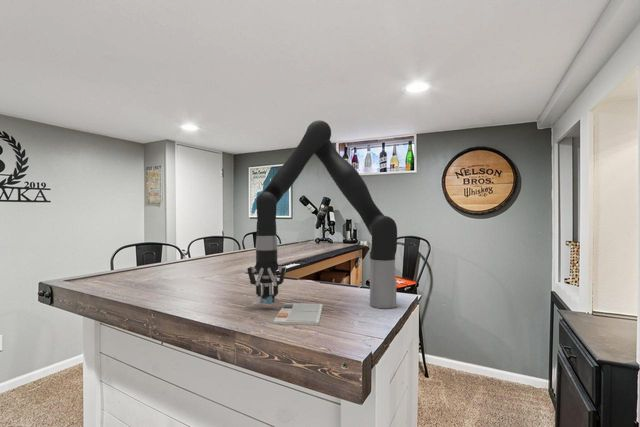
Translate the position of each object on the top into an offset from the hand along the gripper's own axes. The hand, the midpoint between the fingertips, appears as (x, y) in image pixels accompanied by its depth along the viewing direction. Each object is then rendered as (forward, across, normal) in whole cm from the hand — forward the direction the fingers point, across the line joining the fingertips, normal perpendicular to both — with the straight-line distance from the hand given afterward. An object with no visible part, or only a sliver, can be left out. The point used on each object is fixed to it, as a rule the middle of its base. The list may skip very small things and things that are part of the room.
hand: (267, 295), depth 110 cm
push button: (+3, -1, 0) cm, 3 cm away
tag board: (+5, -12, +5) cm, 14 cm away
